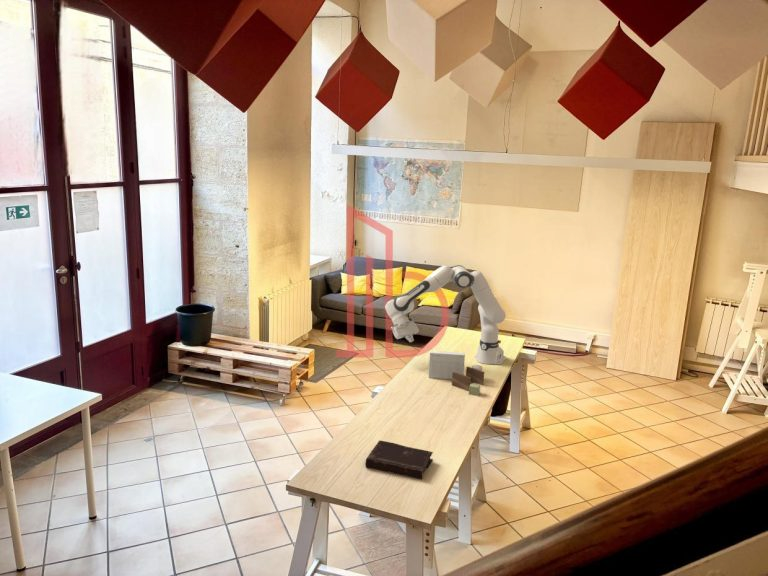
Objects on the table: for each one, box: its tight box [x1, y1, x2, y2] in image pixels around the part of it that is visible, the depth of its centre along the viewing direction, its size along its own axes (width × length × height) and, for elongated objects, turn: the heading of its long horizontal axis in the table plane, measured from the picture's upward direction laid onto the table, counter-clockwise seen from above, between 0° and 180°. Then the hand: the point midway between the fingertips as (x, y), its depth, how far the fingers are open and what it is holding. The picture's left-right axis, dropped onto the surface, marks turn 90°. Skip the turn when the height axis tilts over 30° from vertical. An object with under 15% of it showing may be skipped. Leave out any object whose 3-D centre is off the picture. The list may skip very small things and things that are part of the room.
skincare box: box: [428, 350, 466, 380], centre depth 361 cm, size 21×6×16 cm, turn 84°
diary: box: [364, 440, 434, 480], centre depth 259 cm, size 19×25×5 cm
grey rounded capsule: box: [471, 364, 483, 371], centre depth 362 cm, size 6×6×8 cm
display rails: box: [451, 366, 485, 392], centre depth 351 cm, size 15×12×8 cm
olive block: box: [468, 382, 481, 397], centre depth 339 cm, size 5×5×5 cm
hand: (411, 341), depth 378 cm, fingers closed
